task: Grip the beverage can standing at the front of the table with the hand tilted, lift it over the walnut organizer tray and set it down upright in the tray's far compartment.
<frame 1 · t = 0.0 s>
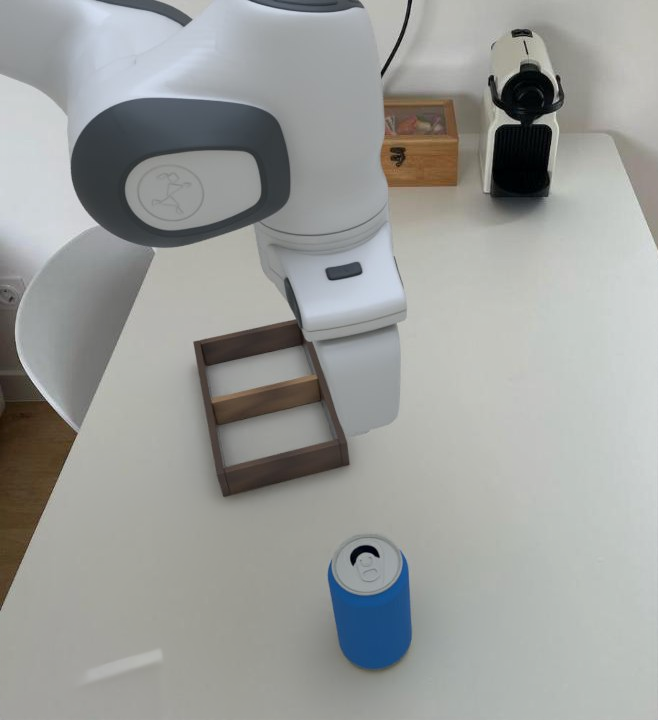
hand: (341, 385, 63), 23 cm above the table, tool pointing down, fingers open, 8 cm apart
tray: (269, 410, 93), on the table
beverage can: (375, 639, 72), on the table
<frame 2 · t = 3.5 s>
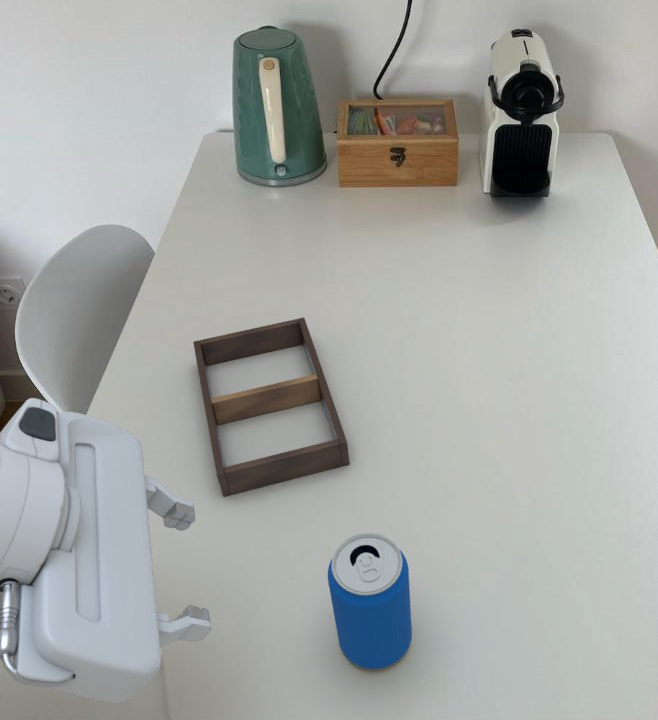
hand: (197, 568, 58), 17 cm above the table, tool tilted 45°, fingers open, 8 cm apart
nothing on the table moved.
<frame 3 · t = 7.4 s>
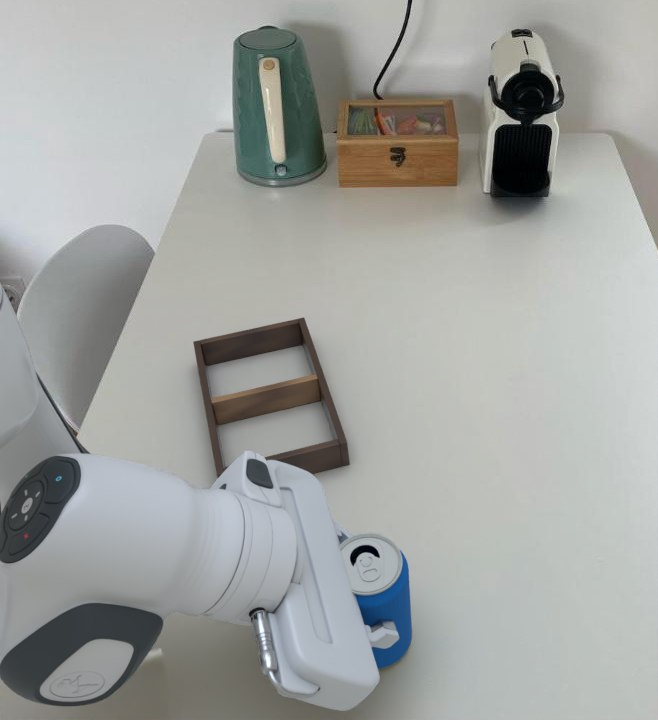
hand: (378, 594, 67), 7 cm above the table, tool tilted 45°, fingers closed on beverage can, 6 cm apart
beverage can: (375, 639, 72), on the table, touching gripper
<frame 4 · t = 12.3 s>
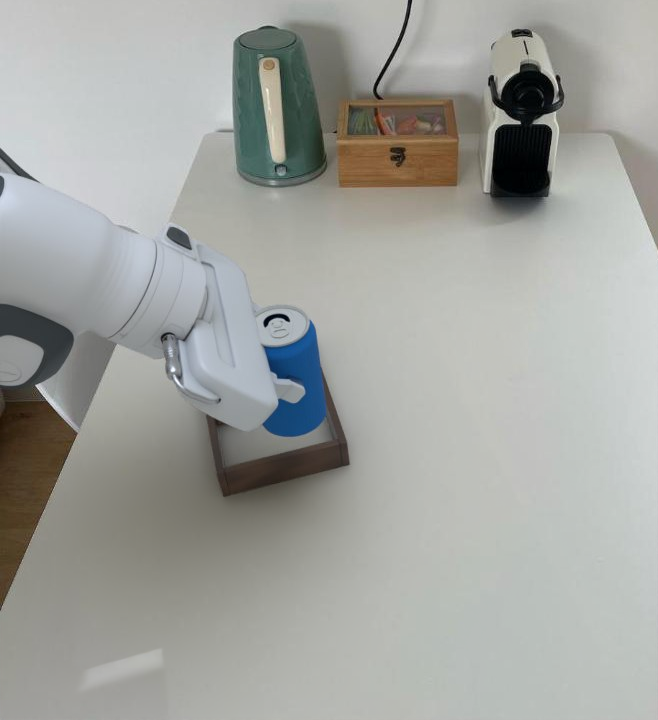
hand: (291, 364, 75), 16 cm above the table, tool tilted 45°, fingers closed on beverage can, 6 cm apart
beverage can: (294, 419, 79), point 9 cm above the table, touching gripper
when the fingers open (7 cm above the table, at t = 17.5 s): beverage can stays where it is, resting in tray.
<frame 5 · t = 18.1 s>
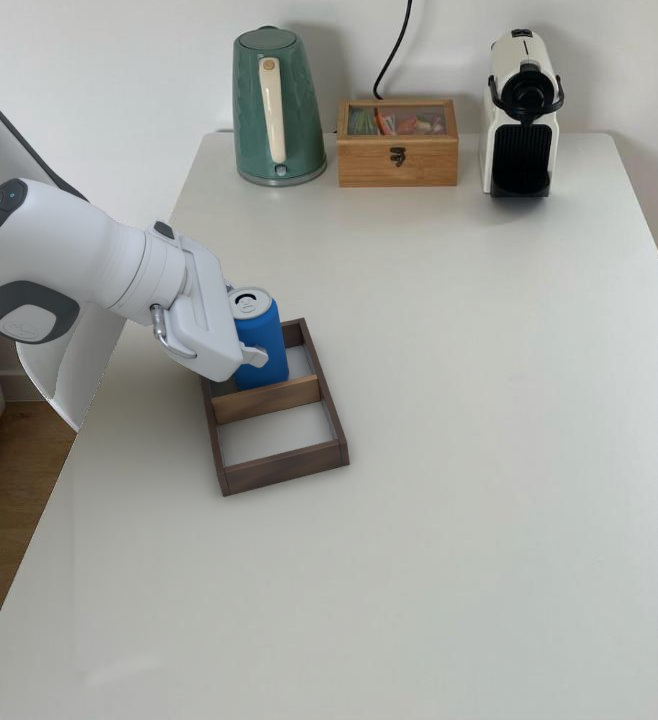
hand: (257, 332, 92), 7 cm above the table, tool tilted 45°, fingers open, 8 cm apart
beverage can: (263, 381, 97), resting in tray
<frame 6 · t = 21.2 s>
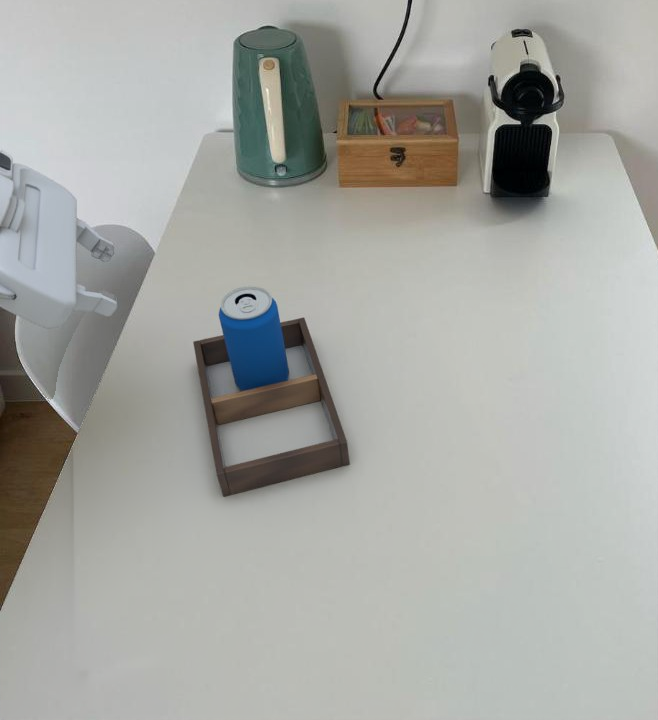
hand: (112, 279, 82), 18 cm above the table, tool tilted 45°, fingers open, 8 cm apart
nothing on the table moved.
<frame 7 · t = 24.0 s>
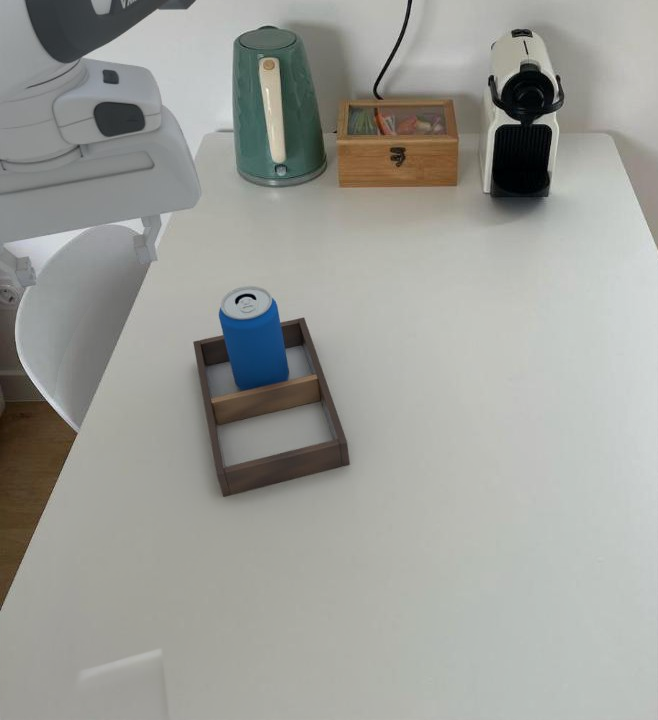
hand: (88, 270, 65), 29 cm above the table, tool pointing down, fingers open, 8 cm apart
nothing on the table moved.
at the end: beverage can inside the target area on the tray (0.4 cm from its centre), point 0.0 cm above the tray's base; beverage can tilted 0°; the gripper is holding nothing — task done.
